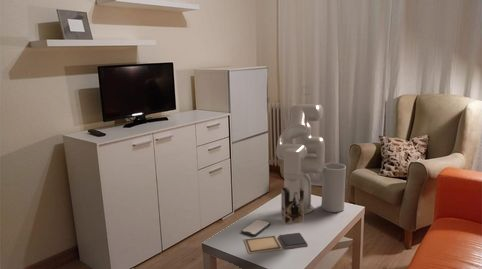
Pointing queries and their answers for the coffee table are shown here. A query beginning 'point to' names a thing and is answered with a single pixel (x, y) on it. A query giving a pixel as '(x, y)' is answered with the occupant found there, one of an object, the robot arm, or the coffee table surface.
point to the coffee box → (286, 208)
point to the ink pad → (292, 240)
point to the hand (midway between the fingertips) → (292, 210)
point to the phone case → (255, 228)
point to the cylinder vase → (333, 187)
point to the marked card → (262, 244)
